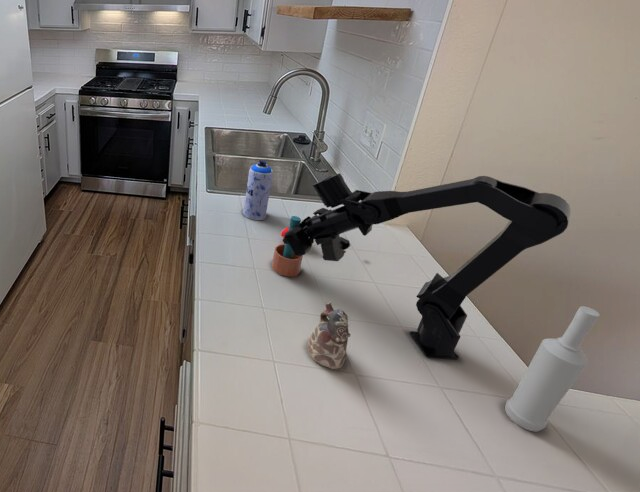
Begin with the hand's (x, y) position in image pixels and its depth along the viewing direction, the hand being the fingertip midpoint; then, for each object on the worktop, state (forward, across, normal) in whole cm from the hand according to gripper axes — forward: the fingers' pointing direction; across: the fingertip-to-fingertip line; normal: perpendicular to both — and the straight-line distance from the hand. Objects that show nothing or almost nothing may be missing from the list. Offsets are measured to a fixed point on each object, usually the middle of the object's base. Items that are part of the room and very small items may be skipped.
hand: (286, 239), depth 104 cm
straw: (+4, 0, -6) cm, 7 cm away
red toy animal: (+8, +13, -4) cm, 16 cm away
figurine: (-9, -20, -21) cm, 30 cm away
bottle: (-29, -6, -42) cm, 51 cm away
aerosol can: (+21, +19, +8) cm, 29 cm away
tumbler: (+5, 0, -7) cm, 9 cm away
